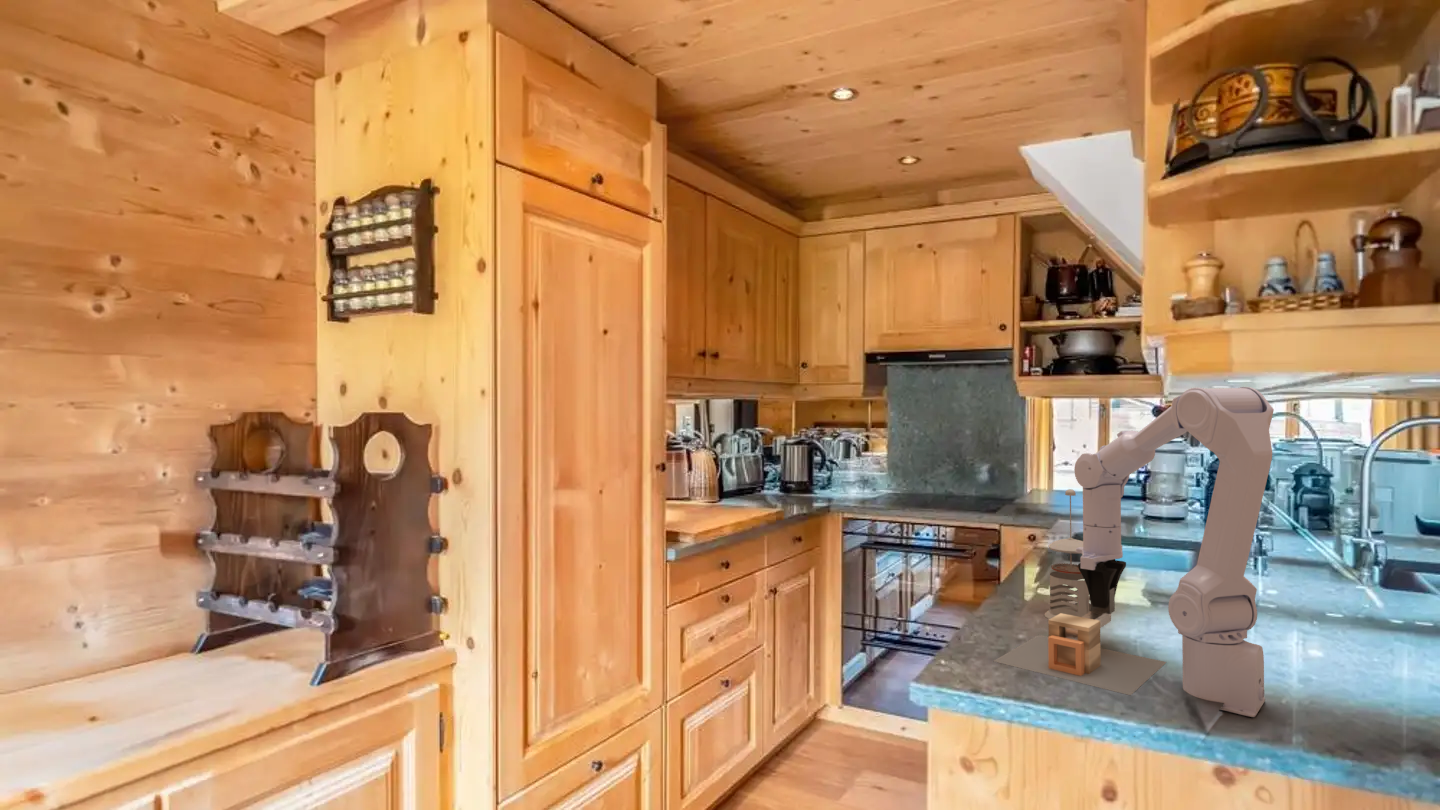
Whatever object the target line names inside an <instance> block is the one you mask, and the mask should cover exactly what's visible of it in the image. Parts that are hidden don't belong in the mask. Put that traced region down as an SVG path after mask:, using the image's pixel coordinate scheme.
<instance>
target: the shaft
mask: <svg viewBox="0 0 1440 810" xmlns="http://www.w3.org/2000/svg"><path fill="white" fill-rule="evenodd" d="M1115 597H1116V594H1115V589H1114V587H1110V592H1109V600H1108V605H1107V608H1099V607H1093V606H1092V603H1091V602H1090V604H1091V612H1089V613H1088V614H1086V615H1084V616H1083V618H1089V619H1094V620H1099V621H1100V629H1101V628H1103V627H1104V626H1106V625H1108V624H1109V623H1111V622H1112V614H1113V613H1114V612H1115V610H1116V608H1115V603H1116V602H1115V601H1116V600H1115ZM1065 638H1069V639H1074V640H1078V630H1077V629H1072V628H1067V627H1065Z"/></svg>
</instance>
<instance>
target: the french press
mask: <svg viewBox="0 0 1440 810" xmlns="http://www.w3.org/2000/svg"><path fill="white" fill-rule="evenodd" d="M1064 496H1069V537H1068V538H1062V539H1057V540H1054V541H1052V542H1051V543H1050V544H1048V549H1049V550H1051V551H1053V552H1058V553H1063V554H1064V553H1065V554H1069V555H1070V556H1069V557H1070V558H1069V560H1070V563H1060V562H1059V563H1055V564H1052V565H1051V566H1050V568H1051V569H1052V570H1053V571H1051V572H1049V610H1047V611H1046V612H1044V617H1045V618H1046V619H1048V620H1049V619H1051V618H1053V617H1055V616H1056V615H1058V614H1060V613H1062V614H1067V615H1073V616H1078V617H1083V616H1084V615H1086V614H1088V613H1089V612H1091V600H1090V596H1089V592H1088V588H1087V585H1086V582H1085V580H1084V578H1083V576H1082V574H1081V572H1080V571H1079V569H1078V564H1075V563H1072V554H1074V555H1075V554H1079V555H1080V554H1081V555H1082V553H1077V552H1076V548H1078V547H1083V540H1079V539H1075V538H1073V537H1072V496H1075V497H1076V490H1074V489H1072V488H1071V489H1070V488H1068V489H1067V490H1066V491H1065V494H1064ZM1073 589H1077V590H1073ZM1072 595H1074V596H1075V597H1074V596H1072ZM1072 602H1075V603H1072Z"/></svg>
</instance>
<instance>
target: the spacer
mask: <svg viewBox="0 0 1440 810" xmlns="http://www.w3.org/2000/svg"><path fill="white" fill-rule="evenodd" d="M1047 637H1048V659H1049V668H1050V669H1054V670H1058V671H1063V672H1067V673H1071V674H1075V675H1080V676H1082V675H1083V674H1084V673H1085V651H1084V641H1079V640H1074V639H1069V638H1064V637H1059V636H1054V635H1051V636H1050V637H1049V636H1047ZM1057 644H1058V645H1063V646H1067V647H1072V648H1075V655H1076V666H1074V665H1070V664H1065V663H1061V662H1057Z"/></svg>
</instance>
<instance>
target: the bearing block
mask: <svg viewBox="0 0 1440 810" xmlns="http://www.w3.org/2000/svg"><path fill="white" fill-rule="evenodd" d="M1047 621H1048V623H1047V624H1048V625H1047V626H1048V637H1050V636H1051V635H1054V636H1059V637H1064V638H1065V627H1067V628H1072V629H1077V630H1078V640H1079V641H1084V651H1085V673H1087V674H1090V673H1091V672H1093V671H1094V670H1095V669H1096V668H1098V667H1099V666H1100V665H1101V653H1100V648H1101V628H1100V621H1099V620H1094V619H1089V618H1083V617H1078V616H1073V615H1067V614H1062V613H1060V614H1058V615H1056V616H1055V617H1053V618H1051V619H1048V620H1047ZM1057 662H1061V663H1065V664H1070V665H1074V666H1076V655H1075V648H1072V647H1067V646H1063V645H1058V644H1057Z"/></svg>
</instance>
